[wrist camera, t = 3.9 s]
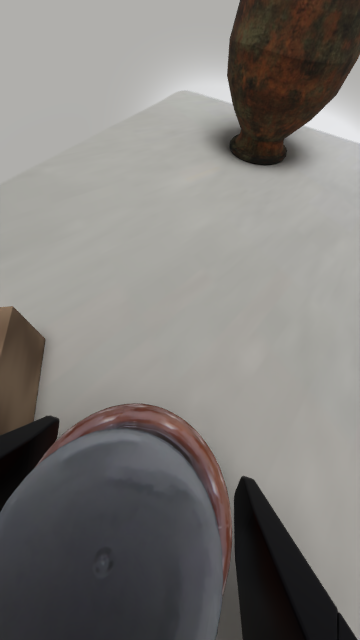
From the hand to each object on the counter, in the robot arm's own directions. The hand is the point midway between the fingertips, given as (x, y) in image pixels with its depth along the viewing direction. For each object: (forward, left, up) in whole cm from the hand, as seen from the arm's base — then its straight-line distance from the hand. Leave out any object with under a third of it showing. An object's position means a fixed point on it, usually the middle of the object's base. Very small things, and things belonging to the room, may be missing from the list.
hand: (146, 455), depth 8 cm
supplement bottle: (-1, +1, -7) cm, 7 cm away
